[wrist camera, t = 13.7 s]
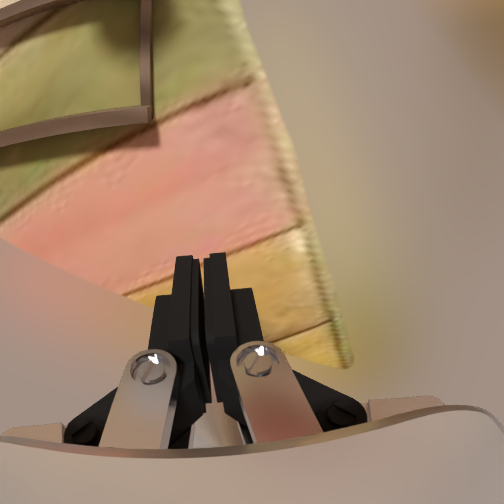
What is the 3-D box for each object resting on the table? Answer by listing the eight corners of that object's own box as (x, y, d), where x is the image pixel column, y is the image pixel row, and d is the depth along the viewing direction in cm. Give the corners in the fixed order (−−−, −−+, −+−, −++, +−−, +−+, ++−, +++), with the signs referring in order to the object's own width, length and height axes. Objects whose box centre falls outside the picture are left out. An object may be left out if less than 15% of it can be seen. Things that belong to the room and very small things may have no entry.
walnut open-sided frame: (152, 118, 30) (147, 122, 28) (-13, 147, 27) (-26, 154, 25) (154, -25, 22) (149, -33, 19) (-20, 25, 19) (-34, 25, 17)
